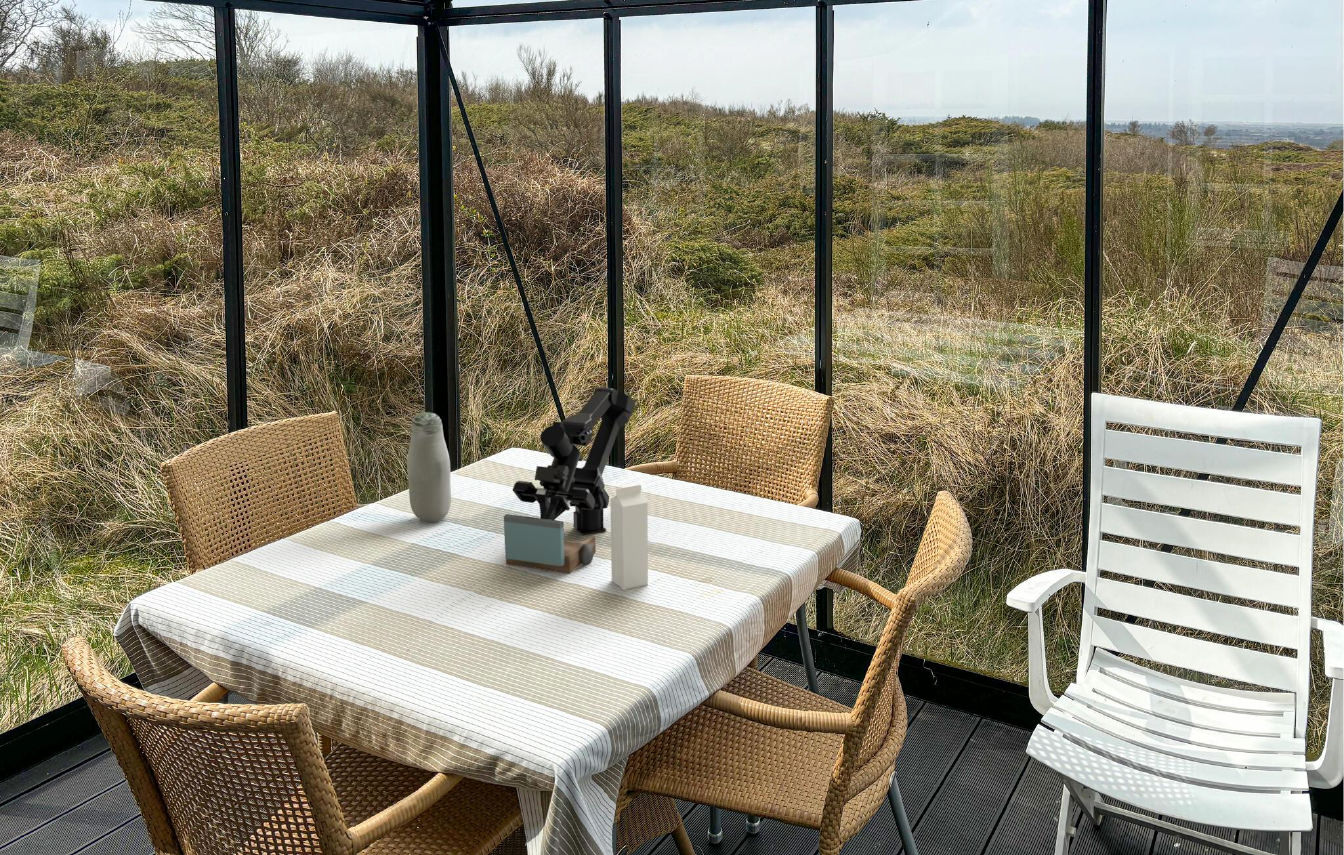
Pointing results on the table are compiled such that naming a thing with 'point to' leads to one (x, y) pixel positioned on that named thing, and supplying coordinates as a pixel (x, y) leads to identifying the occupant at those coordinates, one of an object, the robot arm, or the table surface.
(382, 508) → the table surface
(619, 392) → the robot arm
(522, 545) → the panel
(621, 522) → the milk
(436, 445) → the grey bottle
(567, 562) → the trailer
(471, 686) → the table surface
